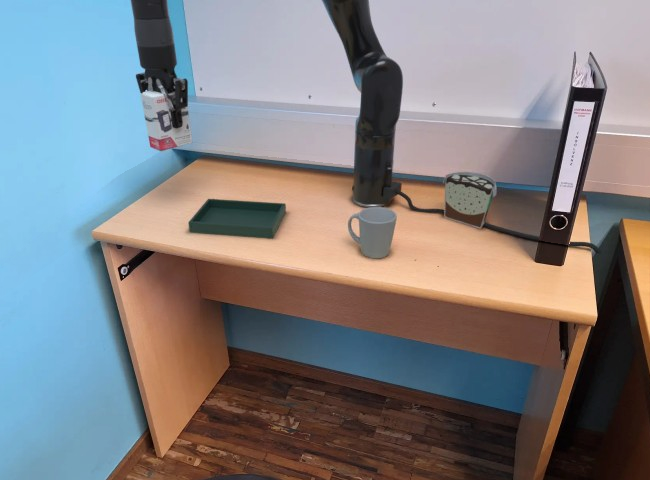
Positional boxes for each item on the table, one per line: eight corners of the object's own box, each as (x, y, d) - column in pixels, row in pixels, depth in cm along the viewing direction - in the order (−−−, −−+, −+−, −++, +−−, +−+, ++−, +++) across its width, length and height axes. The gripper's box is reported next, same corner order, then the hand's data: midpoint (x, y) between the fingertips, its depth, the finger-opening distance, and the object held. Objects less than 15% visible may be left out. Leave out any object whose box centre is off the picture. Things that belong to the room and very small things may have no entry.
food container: (500, 221, 123) (508, 179, 118) (487, 231, 120) (495, 188, 114) (452, 207, 130) (457, 166, 125) (438, 215, 127) (443, 174, 121)
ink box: (161, 152, 119) (151, 96, 113) (149, 147, 122) (139, 92, 116) (193, 143, 124) (186, 89, 118) (181, 138, 127) (173, 85, 121)
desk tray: (286, 213, 129) (285, 203, 128) (272, 238, 119) (272, 228, 117) (209, 208, 133) (208, 198, 131) (189, 232, 122) (188, 222, 120)
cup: (386, 264, 108) (388, 225, 104) (340, 254, 112) (341, 216, 108) (399, 248, 114) (402, 210, 109) (355, 238, 118) (356, 202, 113)
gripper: (193, 42, 110) (203, 126, 120) (146, 37, 117) (159, 116, 127) (165, 47, 105) (178, 135, 115) (118, 41, 112) (133, 124, 122)
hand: (168, 125), depth 121 cm, fingers closed on ink box, 5 cm apart
